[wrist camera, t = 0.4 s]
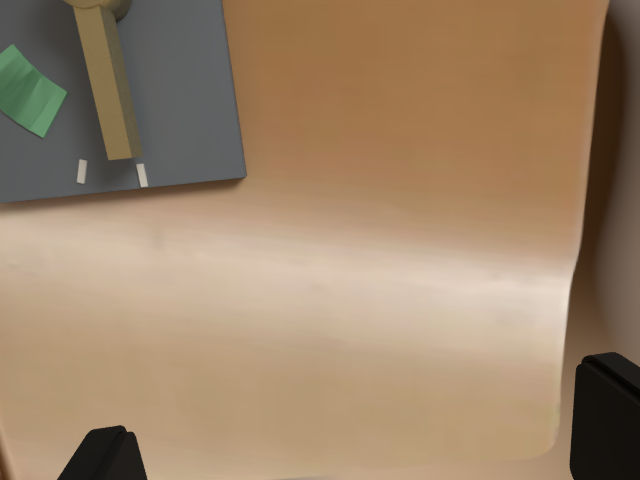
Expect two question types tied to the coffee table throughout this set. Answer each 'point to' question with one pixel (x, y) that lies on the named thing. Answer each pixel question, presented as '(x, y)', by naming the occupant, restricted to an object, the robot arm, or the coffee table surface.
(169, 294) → the coffee table surface
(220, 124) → the dial plate
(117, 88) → the needle
